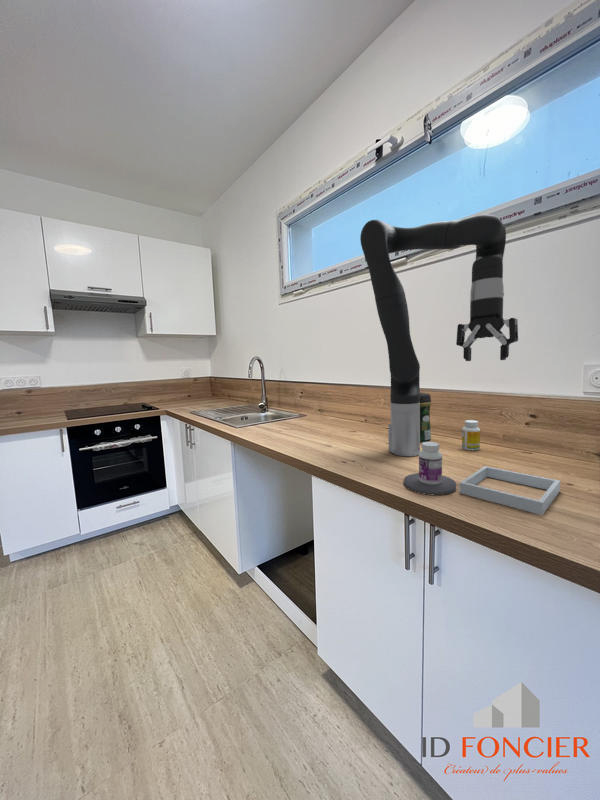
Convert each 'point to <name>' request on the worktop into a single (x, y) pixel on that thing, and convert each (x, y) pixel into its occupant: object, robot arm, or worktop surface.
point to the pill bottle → (430, 464)
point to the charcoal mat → (442, 488)
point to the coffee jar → (425, 417)
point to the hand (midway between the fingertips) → (485, 360)
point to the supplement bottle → (471, 435)
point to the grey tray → (509, 499)
